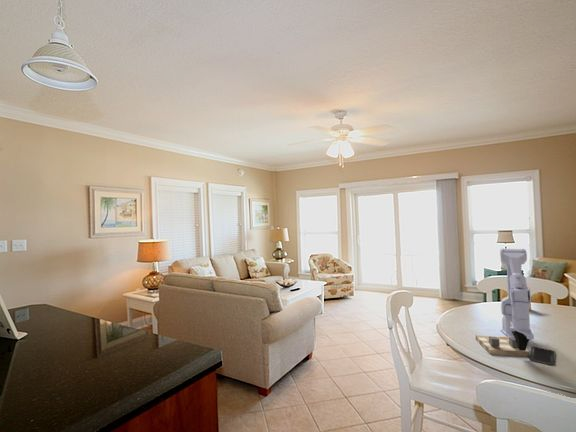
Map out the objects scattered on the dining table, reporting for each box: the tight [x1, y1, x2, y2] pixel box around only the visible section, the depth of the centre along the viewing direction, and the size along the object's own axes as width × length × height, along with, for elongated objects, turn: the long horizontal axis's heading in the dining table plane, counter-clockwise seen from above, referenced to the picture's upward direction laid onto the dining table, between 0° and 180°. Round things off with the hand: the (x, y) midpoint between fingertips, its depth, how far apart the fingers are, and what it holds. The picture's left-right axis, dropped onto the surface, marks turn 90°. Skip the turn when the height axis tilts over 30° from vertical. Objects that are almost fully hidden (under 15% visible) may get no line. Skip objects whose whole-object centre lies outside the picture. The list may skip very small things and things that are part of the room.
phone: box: [528, 346, 556, 366], centre depth 127 cm, size 8×1×15 cm
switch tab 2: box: [509, 337, 518, 347], centre depth 133 cm, size 3×3×3 cm
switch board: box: [475, 334, 531, 357], centre depth 137 cm, size 16×15×2 cm
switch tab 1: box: [488, 335, 500, 346], centre depth 135 cm, size 3×3×3 cm
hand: (521, 349), depth 127 cm, fingers closed
